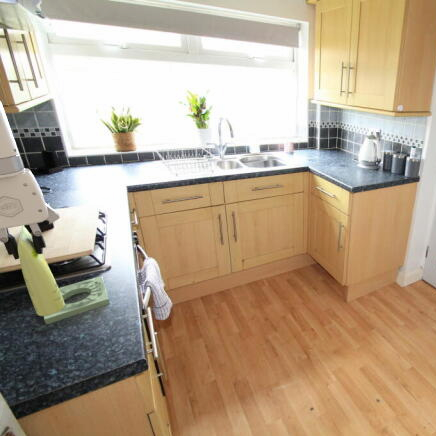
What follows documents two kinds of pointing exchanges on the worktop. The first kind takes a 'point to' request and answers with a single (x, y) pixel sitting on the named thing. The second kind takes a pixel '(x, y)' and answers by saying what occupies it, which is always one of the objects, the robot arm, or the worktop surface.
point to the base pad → (89, 303)
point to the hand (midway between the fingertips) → (29, 253)
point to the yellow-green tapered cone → (38, 277)
